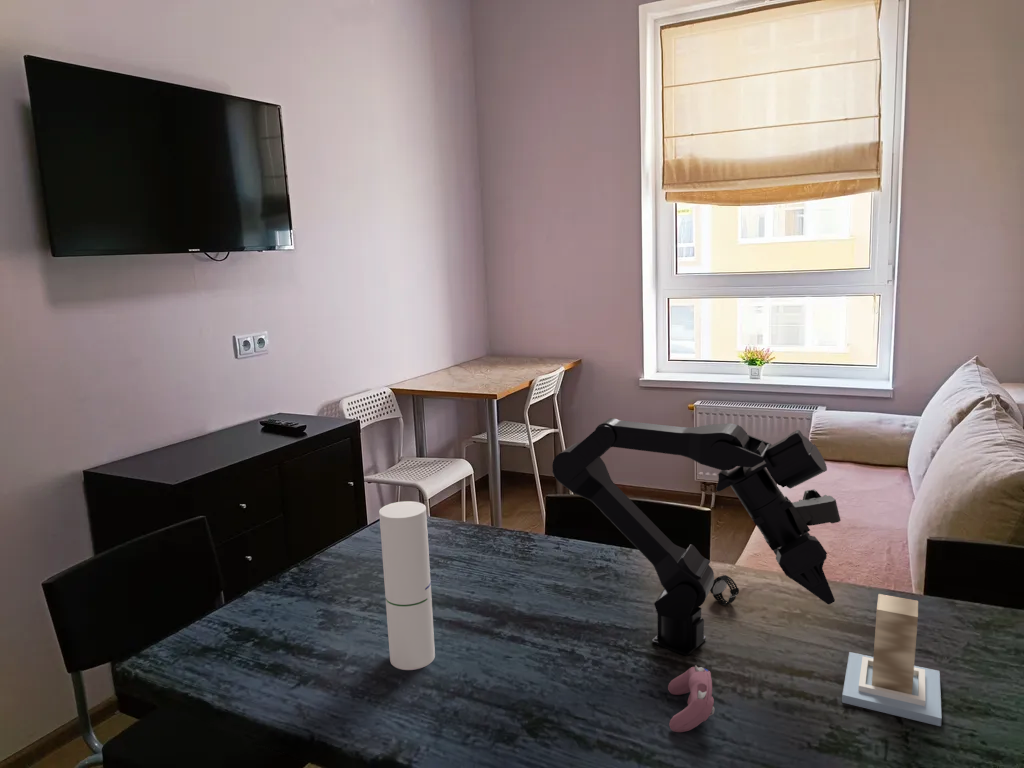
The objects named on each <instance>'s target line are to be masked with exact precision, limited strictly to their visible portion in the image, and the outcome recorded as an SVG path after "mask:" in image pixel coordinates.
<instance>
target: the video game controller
mask: <svg viewBox="0 0 1024 768" xmlns="http://www.w3.org/2000/svg"><path fill="white" fill-rule="evenodd" d="M667 690H668V691H669V693H670V694H671V695H675V696H681V695H685V694H688V693H689V695H688V698H687V706H686V707H684V709H682V710H680V711H679V712H677V713H676V714H674V715H673V716H672V717H671V719H669V724H668V725H669V728H670V729H671V731H672V732H674V733H685V732H688V731H692V730H693V729H695V728H696V727H698V726H699V725H700V724H702V723H703V722H706V721H707V720H708V719H709V717H712V715H714V714H715V706H714V704H715V702H714V701H715V699H714V697H713V696H712V695H713V681H712V672H711V671H710V670H709V669H707V668H705V667H703V666H700V667H699V666H697V665H694V666H692V667H689V668H688V669H687V670H685V672H683V673H681V674H680V675H678V676H676V677H675V678H673V679H671V680H670V682H669V683H668V685H667Z"/></svg>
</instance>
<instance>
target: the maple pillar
mask: <svg viewBox="0 0 1024 768" xmlns="http://www.w3.org/2000/svg"><path fill="white" fill-rule="evenodd" d="M875 615H876V616H875V617H876V618H875V631H874V646H873V657H874V658H873V673H872V686H876V687H880V688H885V689H889V690H893V691H898V692H902V693H907V694H911V695H912V686H913V674H914V666H915V659H916V648H917V647H916V646H917V645H916V644H917V632H918V620H919V600H914V599H910V598H904V597H898V596H892V595H886V594H882V593H878V595H877V604H876V614H875Z"/></svg>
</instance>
